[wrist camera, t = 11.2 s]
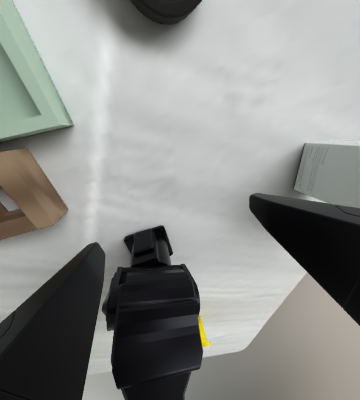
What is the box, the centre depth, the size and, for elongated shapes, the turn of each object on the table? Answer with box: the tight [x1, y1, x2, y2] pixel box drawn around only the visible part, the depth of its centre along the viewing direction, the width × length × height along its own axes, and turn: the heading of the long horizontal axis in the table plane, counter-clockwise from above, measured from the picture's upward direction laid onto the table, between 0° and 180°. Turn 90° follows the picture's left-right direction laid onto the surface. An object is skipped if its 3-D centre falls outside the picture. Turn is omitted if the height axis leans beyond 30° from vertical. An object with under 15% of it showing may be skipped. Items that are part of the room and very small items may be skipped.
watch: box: [198, 316, 212, 351], centre depth 36 cm, size 6×3×6 cm, turn 12°
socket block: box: [0, 148, 68, 240], centre depth 16 cm, size 8×8×4 cm
